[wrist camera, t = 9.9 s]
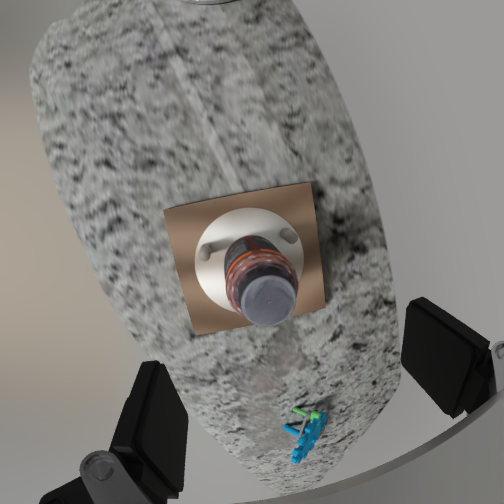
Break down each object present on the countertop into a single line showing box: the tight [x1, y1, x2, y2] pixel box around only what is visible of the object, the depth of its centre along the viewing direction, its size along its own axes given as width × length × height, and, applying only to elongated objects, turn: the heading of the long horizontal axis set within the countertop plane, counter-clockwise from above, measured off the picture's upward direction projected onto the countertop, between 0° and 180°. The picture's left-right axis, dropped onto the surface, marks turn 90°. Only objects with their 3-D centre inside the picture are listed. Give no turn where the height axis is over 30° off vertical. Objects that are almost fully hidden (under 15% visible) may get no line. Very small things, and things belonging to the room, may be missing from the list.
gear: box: [283, 407, 327, 463], centre depth 36 cm, size 11×6×10 cm
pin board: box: [163, 182, 326, 335], centre depth 29 cm, size 15×16×4 cm
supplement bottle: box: [224, 235, 299, 327], centre depth 24 cm, size 6×6×11 cm
